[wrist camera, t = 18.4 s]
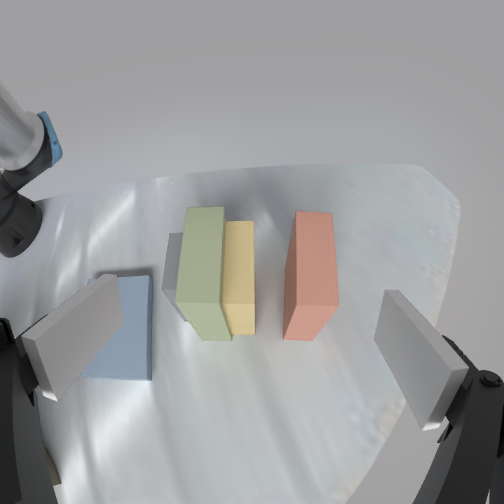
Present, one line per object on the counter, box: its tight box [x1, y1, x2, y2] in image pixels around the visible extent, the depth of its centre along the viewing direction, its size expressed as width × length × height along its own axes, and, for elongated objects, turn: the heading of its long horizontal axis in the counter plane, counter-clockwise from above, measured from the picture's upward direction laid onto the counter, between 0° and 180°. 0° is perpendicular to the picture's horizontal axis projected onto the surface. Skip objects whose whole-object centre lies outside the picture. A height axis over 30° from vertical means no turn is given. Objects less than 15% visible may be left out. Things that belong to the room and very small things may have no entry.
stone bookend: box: [162, 233, 188, 321], centre depth 42 cm, size 8×3×13 cm, turn 0°
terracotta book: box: [283, 211, 339, 341], centre depth 40 cm, size 12×4×16 cm, turn 176°
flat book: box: [80, 275, 153, 381], centre depth 44 cm, size 17×12×2 cm
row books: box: [175, 207, 255, 341], centre depth 40 cm, size 12×8×17 cm, turn 0°
